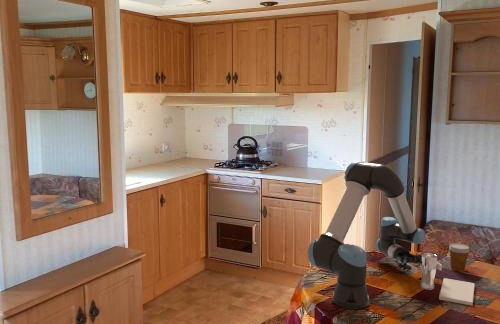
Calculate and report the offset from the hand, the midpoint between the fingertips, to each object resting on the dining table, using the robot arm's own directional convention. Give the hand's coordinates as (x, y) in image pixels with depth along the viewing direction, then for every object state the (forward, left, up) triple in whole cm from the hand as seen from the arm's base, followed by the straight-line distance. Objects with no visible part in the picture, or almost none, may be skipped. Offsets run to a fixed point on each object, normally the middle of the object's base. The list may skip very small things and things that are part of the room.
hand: (429, 269), depth 213 cm
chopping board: (+5, -11, -8) cm, 15 cm away
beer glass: (-1, 0, -9) cm, 9 cm away
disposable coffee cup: (+31, +5, -9) cm, 33 cm away
